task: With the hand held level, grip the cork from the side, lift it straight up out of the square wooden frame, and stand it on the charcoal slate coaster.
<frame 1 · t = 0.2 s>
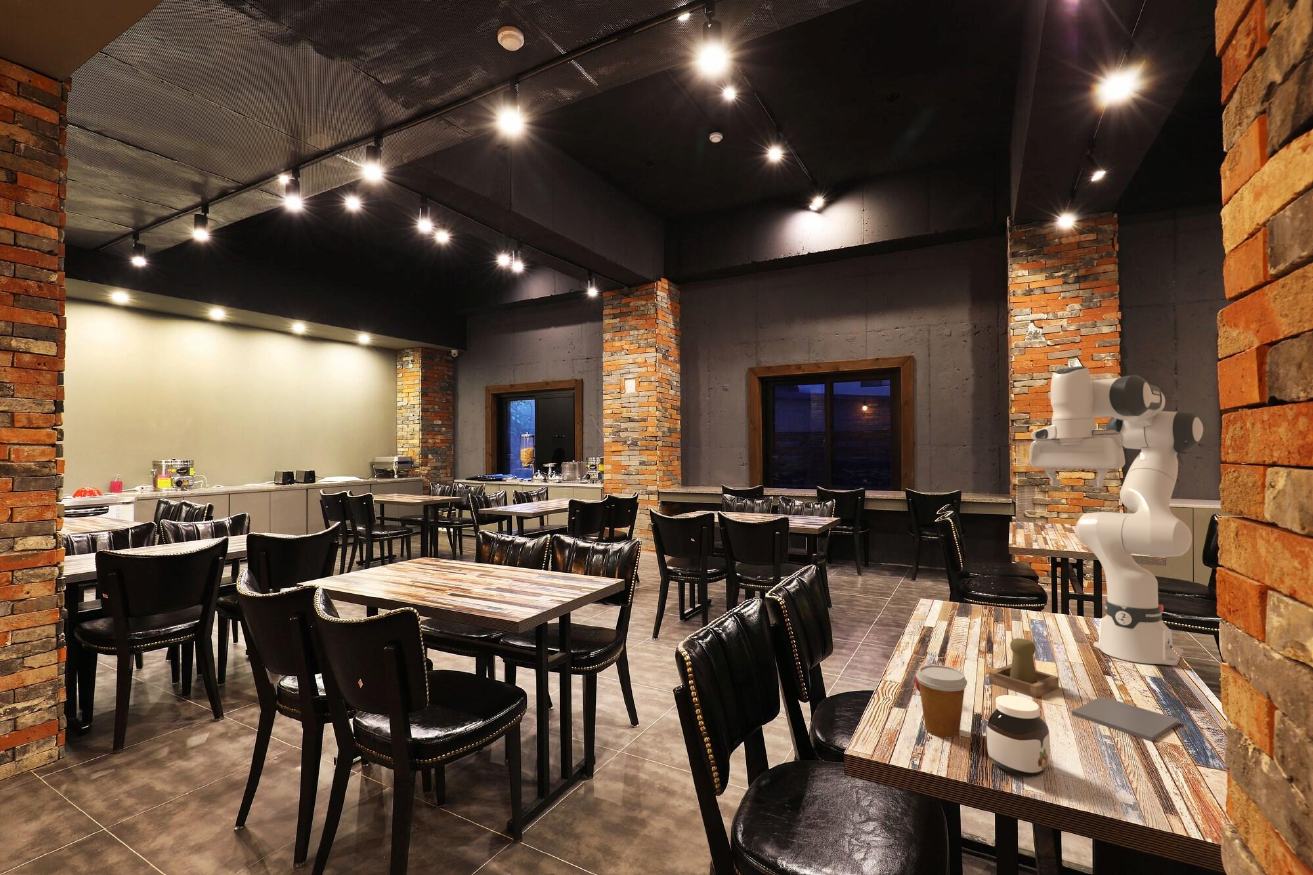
hand: (1076, 486, 149), 48 cm above the table, tool pointing down, fingers open, 8 cm apart
onion: (928, 699, 138), on the table
cork: (1023, 685, 145), resting in square wooden frame
square wooden frame: (1023, 684, 145), on the table
spread jar: (1012, 762, 111), on the table
disposable coffee cup: (942, 731, 122), on the table
coaster: (1124, 718, 127), on the table
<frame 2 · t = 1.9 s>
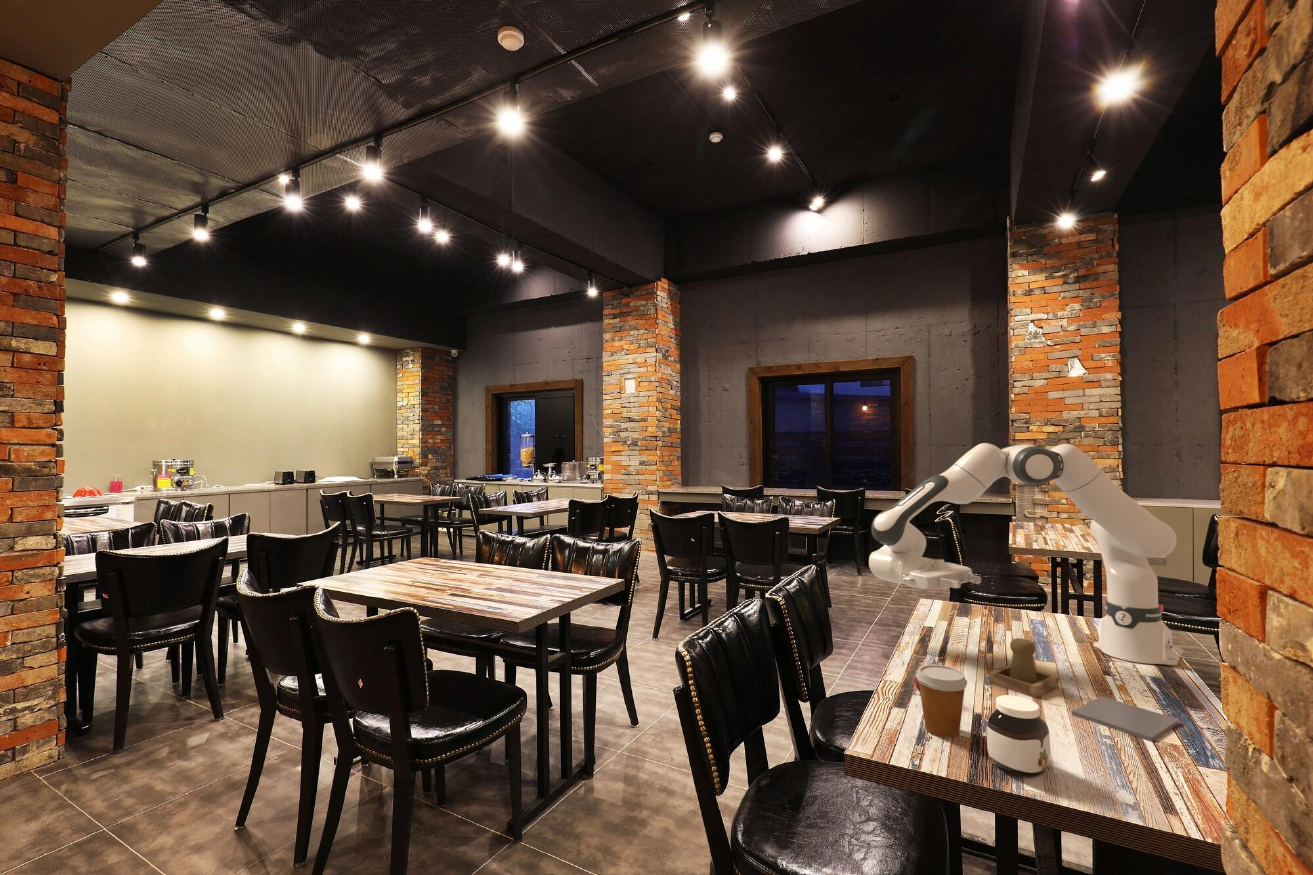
hand: (969, 582, 156), 22 cm above the table, tool horizontal, fingers open, 8 cm apart
nothing on the table moved.
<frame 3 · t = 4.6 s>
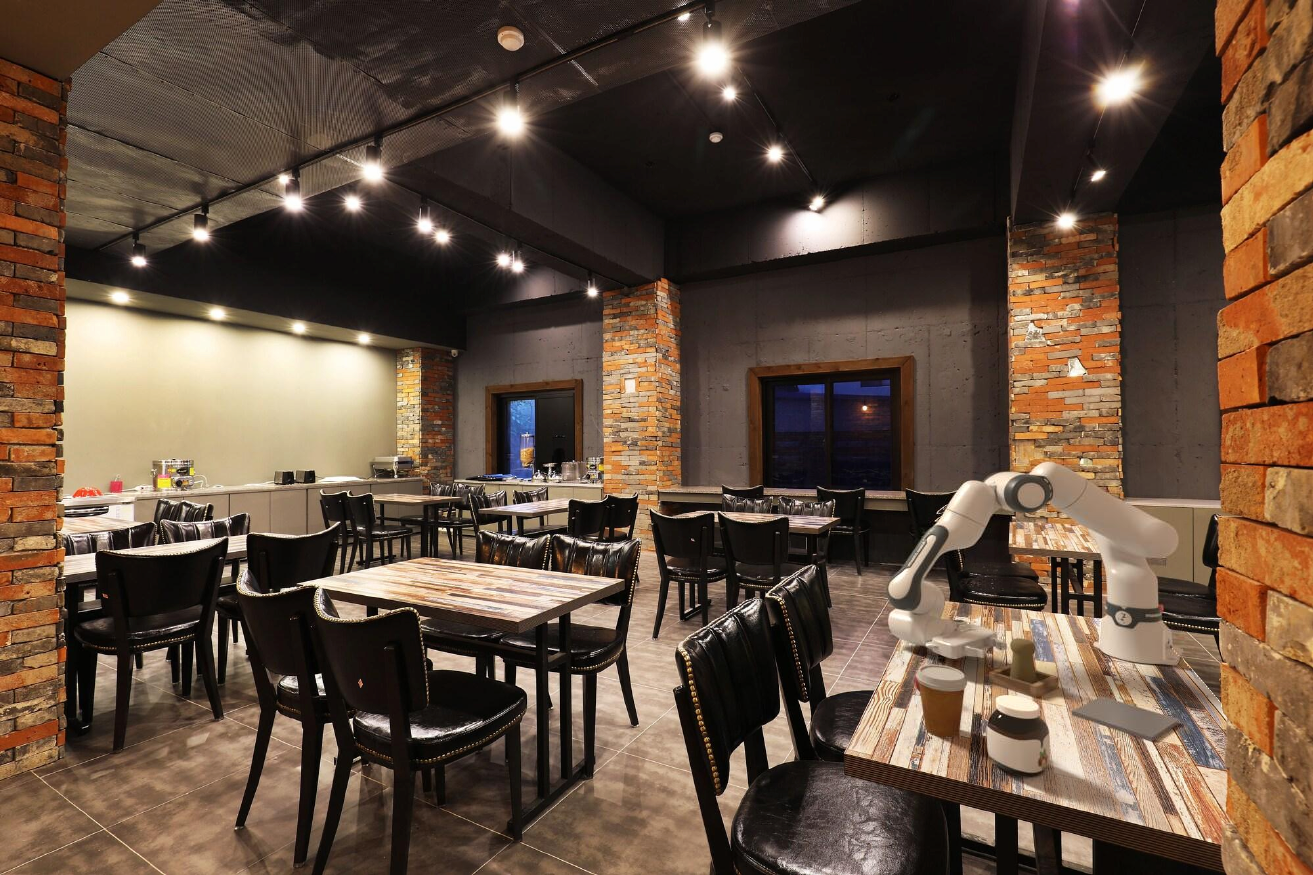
hand: (995, 650, 151), 6 cm above the table, tool horizontal, fingers open, 8 cm apart
nothing on the table moved.
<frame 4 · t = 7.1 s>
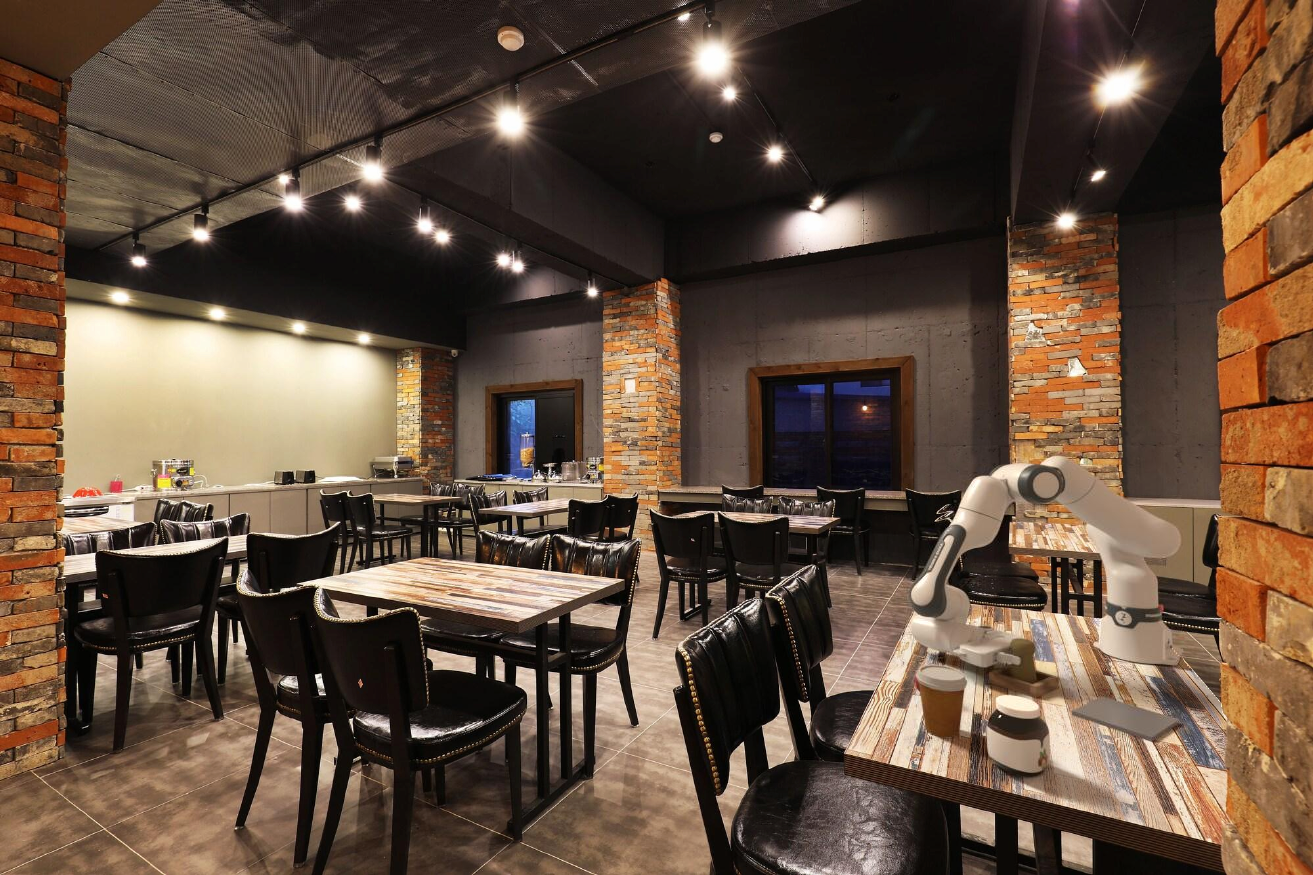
hand: (1026, 658, 144), 7 cm above the table, tool horizontal, fingers closed on cork, 4 cm apart
cork: (1023, 685, 145), resting in square wooden frame, touching gripper
everything else where it was.
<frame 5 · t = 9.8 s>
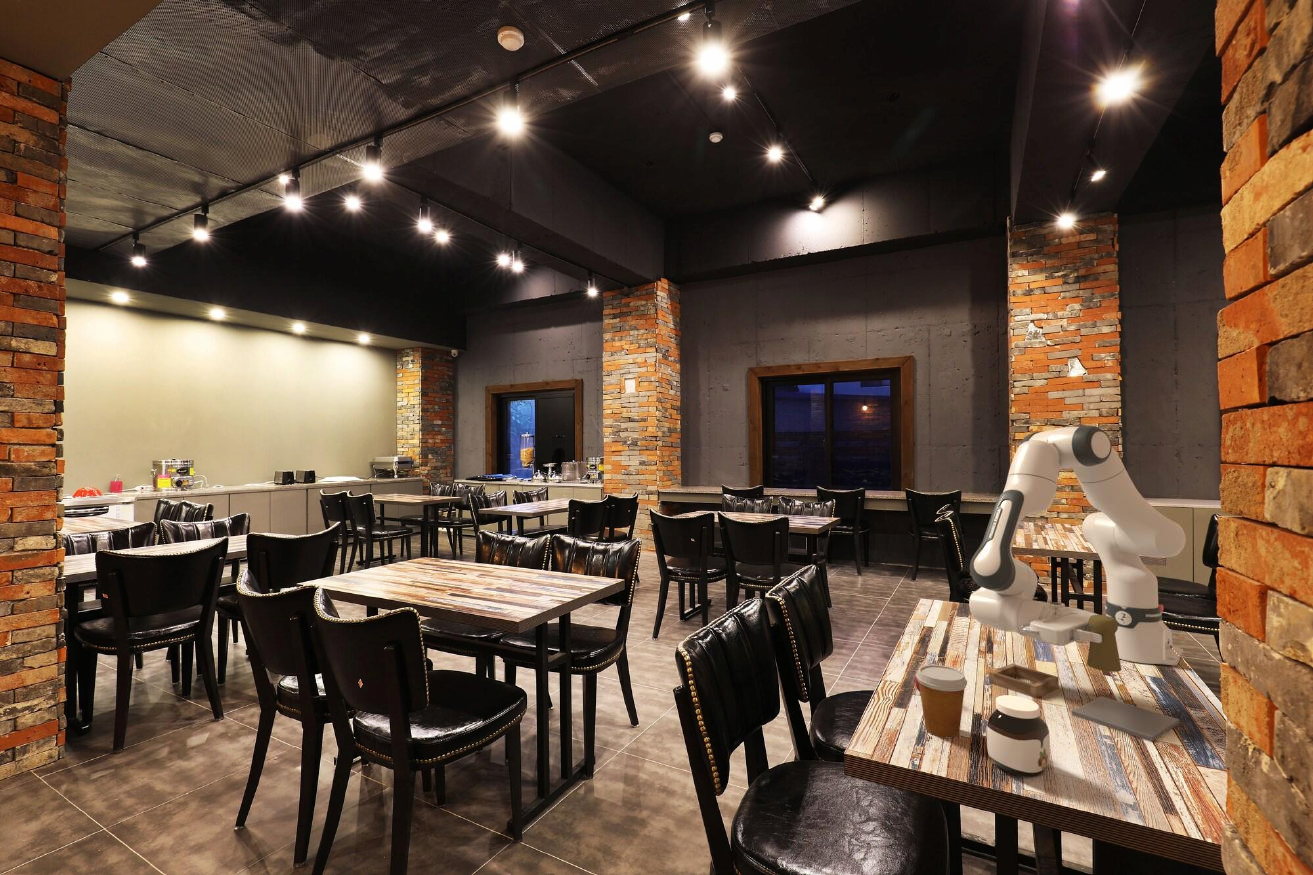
hand: (1108, 636, 129), 17 cm above the table, tool horizontal, fingers closed on cork, 4 cm apart
cork: (1103, 667, 130), point 10 cm above the table, touching gripper
everything else where it was.
when the fingers open (9 cm above the table, at t = 12.4 s): cork drops 1 cm, resting on coaster.
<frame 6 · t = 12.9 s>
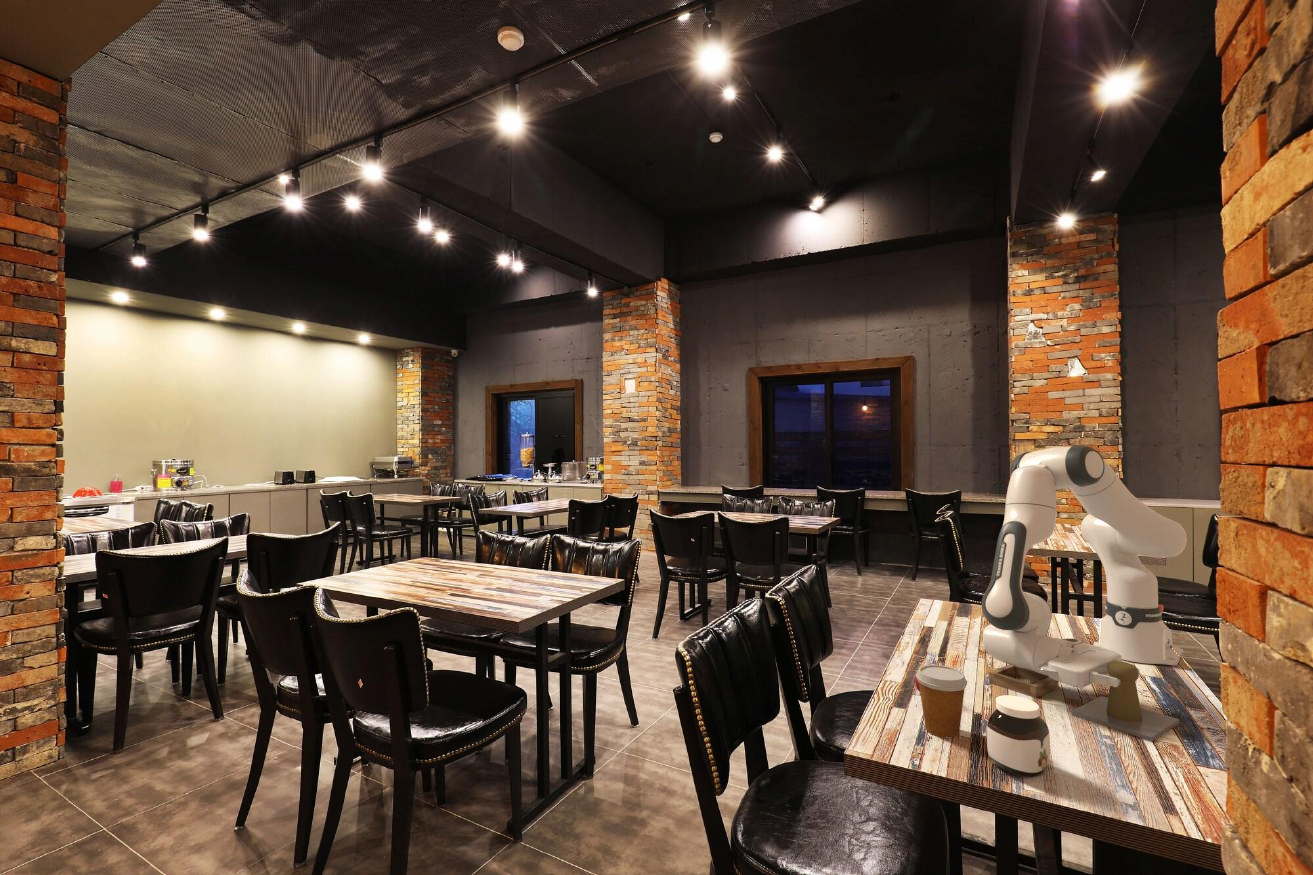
hand: (1128, 677, 126), 9 cm above the table, tool horizontal, fingers open, 8 cm apart
cork: (1124, 716, 127), point 1 cm above the table, touching coaster
everything else where it was.
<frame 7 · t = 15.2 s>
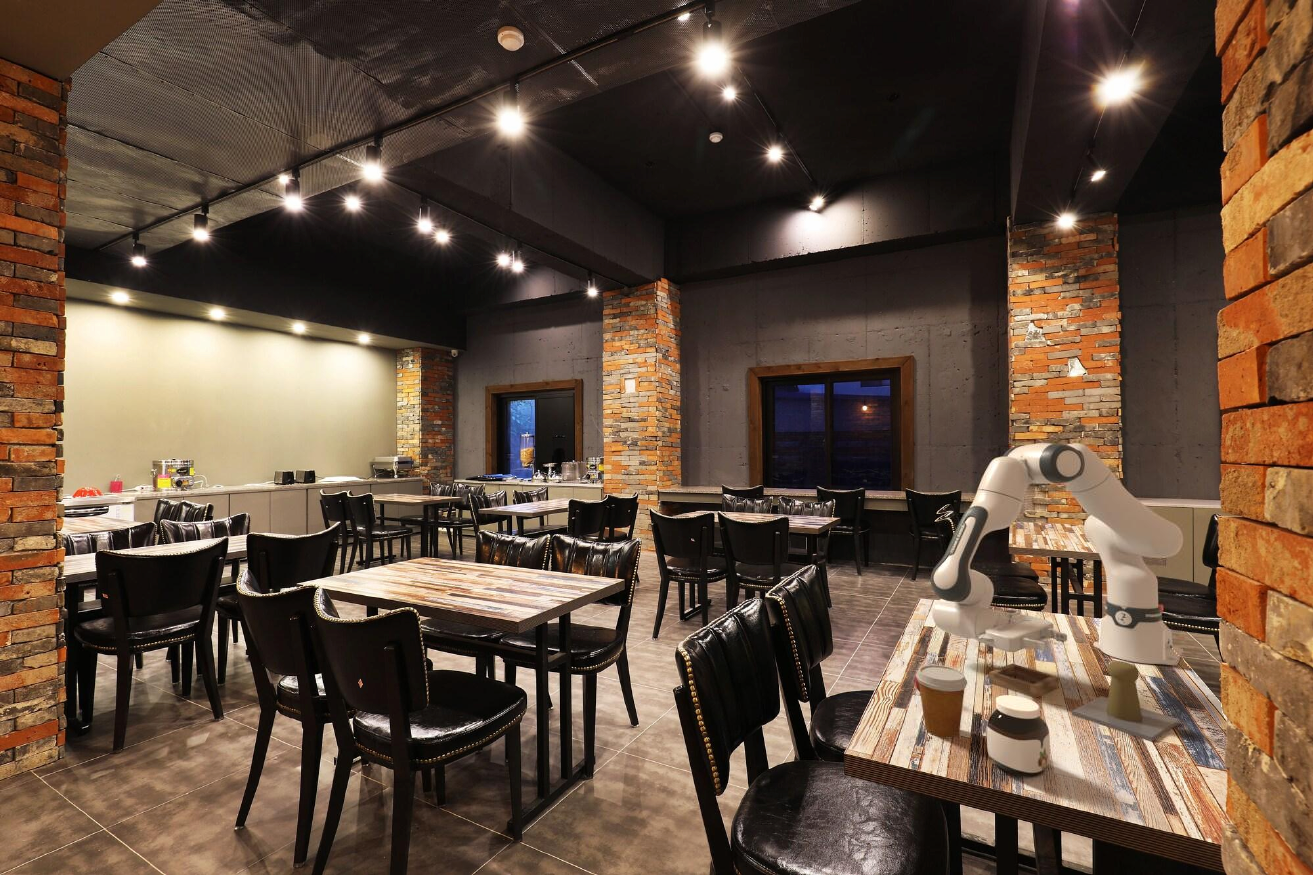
hand: (1056, 642, 140), 12 cm above the table, tool horizontal, fingers open, 8 cm apart
nothing on the table moved.
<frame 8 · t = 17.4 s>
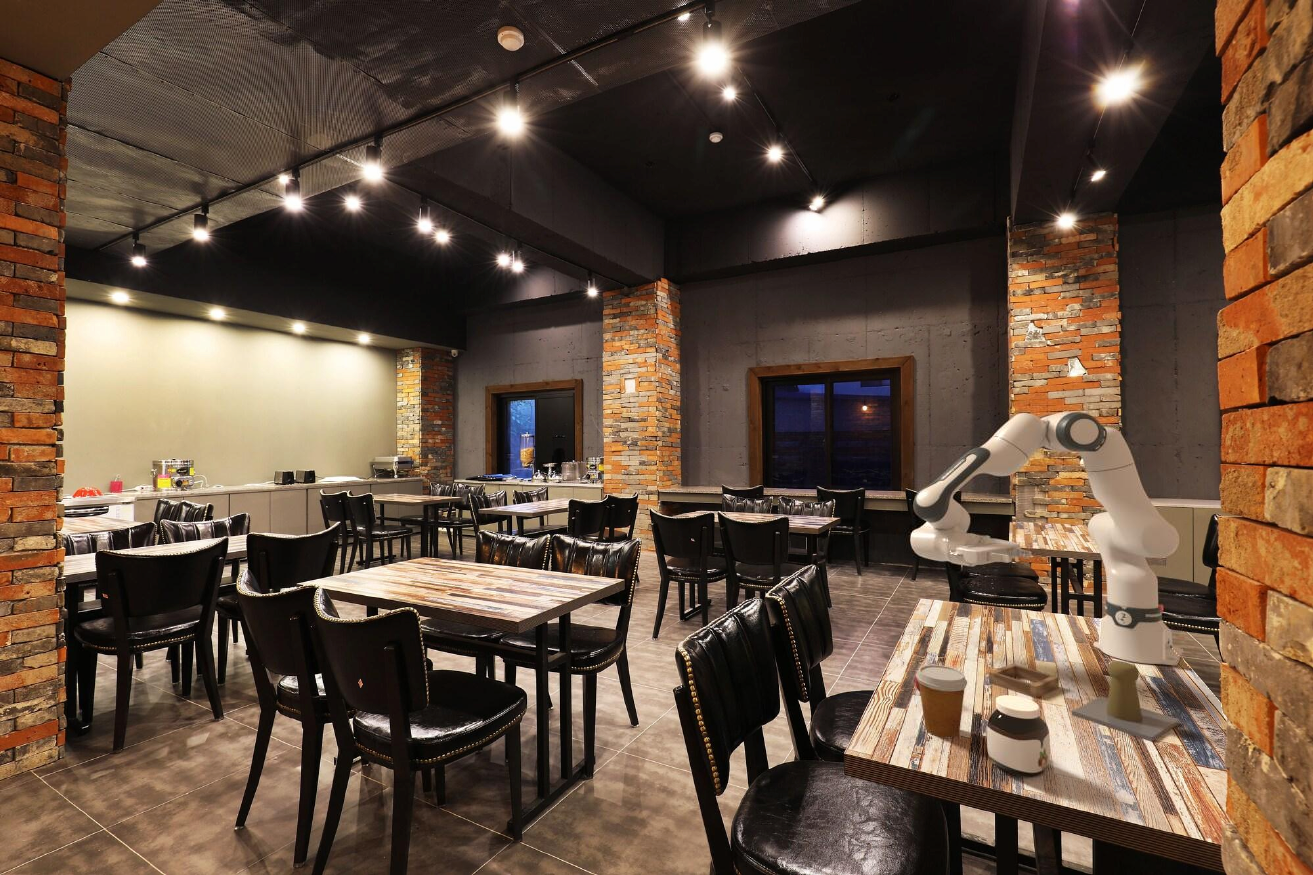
hand: (1020, 556, 151), 30 cm above the table, tool horizontal, fingers open, 8 cm apart
nothing on the table moved.
at the end: cork inside the target area on the coaster (0.1 cm from its centre), point 0.6 cm above the coaster's base; cork tilted 0°; the gripper is holding nothing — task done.
